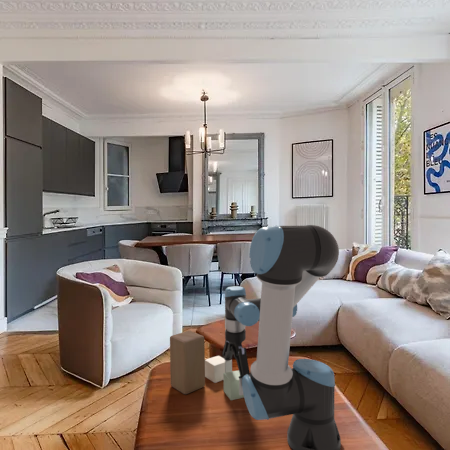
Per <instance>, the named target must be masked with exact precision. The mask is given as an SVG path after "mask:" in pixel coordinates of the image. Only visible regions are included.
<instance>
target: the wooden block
mask: <svg viewBox="0 0 450 450" xmlns="http://www.w3.org/2000/svg"><path fill="white" fill-rule="evenodd" d="M205 345H206V344H205V337H204V335H202V334H200V333H196V332H194V331H192V330H186V331H183V332H180V333H175V334H173V335H171V336H169V354H170V355H169V357H170V359H169V363H170V364H169V365H170V367H169V368H170V371H169V372H170V386H171V388H174V389H175V390H177V391H178V392H180V393H182V394H183V395H188V394H191V393H193V392H195V391H197V390H199V389H202V388H204V387H205V385H206V377H205V360H206V357H205V356H206V355H205V352H206V351H205V350H206V349H205Z"/></svg>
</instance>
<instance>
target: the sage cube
mask: <svg viewBox="0 0 450 450" xmlns="http://www.w3.org/2000/svg"><path fill="white" fill-rule="evenodd" d="M223 376H224V380H223V392H224V394H225V395H226V397H228V399H229V400H230V401H233V400H238V399H243V398H244V395H239V376H240V373H239V369H238V370H232V372H227V373H223ZM244 399H245V398H244Z"/></svg>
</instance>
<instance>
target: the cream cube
mask: <svg viewBox="0 0 450 450" xmlns="http://www.w3.org/2000/svg"><path fill="white" fill-rule="evenodd" d="M223 373H225V360H224V357H223V356H221V355H216V356H212V357H209V358H205V379H208V380H210V381H211V382H213V383H214V384H216V383H218V382H222V381H224V376H223Z"/></svg>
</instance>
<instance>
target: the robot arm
mask: <svg viewBox="0 0 450 450" xmlns="http://www.w3.org/2000/svg"><path fill="white" fill-rule="evenodd" d="M339 255H340V250H339V244H338V241H337V240H336V238H335V237H334V235H333V234H332V233H331V232H330V231H329V230H328V229H326V228H324V227H323V226H319V225H314V224H307V225H273V226H264V227H261V228H259V229H257V231H256V232H255V234H254V235H253V237H252V239H251V243H250V247H249V258H250V260H249V264H250V267H251V270H252V271H253V273H255V274H256V278H257V279H258V280H259V281H260V283H261V292H260V293H261V294H260V298H249V299H248V298H247V294H246V293H247V292H246V288H245V287H243V286H237V285H235V286H233V285H232V286H228V287H226V288H225V289H224V290H225V292H224V328H225V330H224V335H225V336H224V339H225V340H224V345H223V350H222V353H221V354H222V357H223V358H224V360H225V373H227V372H232V371H233V358H234V359H235V361H236V365H237V368H238V370H239V373H240V376H239V395H244V401H245V405H246V408H247V411H248V412H249V414H250V416H251V417H252V418H253V419H255V420H257V421H263V420H271V419H275V418H281V417H285V416H290V415H292V417H291V419H290V423H289V426H288V428H287V435H286V439H287V441H286V442H287V444H288V446H289V447H290V448H291V450H341V447H342V445H341V443H342V442H341V440H342V439H341V436H340V432H339V429H338V426H337V422H336V420H335V388H336V383H335V382H336V381H335V380H336V379H335V373H334V370H333V369H332V368H331V367H330V366H329V365H327V364H326V363H325V362H322V361H319V360H316V359H312V358H311V359H310V358H299V359H296V360H294V361H293V364H292V367H291V366H290V365H289V356H290V346H291V337H292V336H291V335H292V334H291V333H292V327H293V326H292V325H293V324H292V323H293V318H295V316H296V315H297V312H298V303H299V302H300V301H301V300H302V299H303V297H305V295H306V294H307V293H308V292H309V290H311V288H312V287H313V286H314V285H315V284H316V283H317V282H318V280H319V279H320V278H323V277H326V276H328V275H329V274H330V272H332V270H333V269H334V268H335V266H336V265H337V263H338V260H339ZM258 322H259V323H258ZM257 323H258V335H257V336H258V337H257V349H256V350H257V351H256V360H254V361H253V362H252V363H251V365H250V367H249V363H248V362H249V361H248V354H247V348H246V347H243V344H242V343H243V342H244V341H245V340H246V333H247V332H246V327H252V326H255V325H256V324H257Z"/></svg>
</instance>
